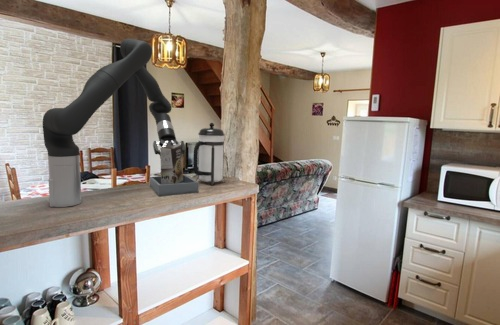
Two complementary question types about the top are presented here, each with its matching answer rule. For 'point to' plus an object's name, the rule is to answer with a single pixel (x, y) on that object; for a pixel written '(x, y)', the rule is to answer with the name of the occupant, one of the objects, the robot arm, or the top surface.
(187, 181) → the tray
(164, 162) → the coffee box
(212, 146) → the coffee press
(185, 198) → the top surface
